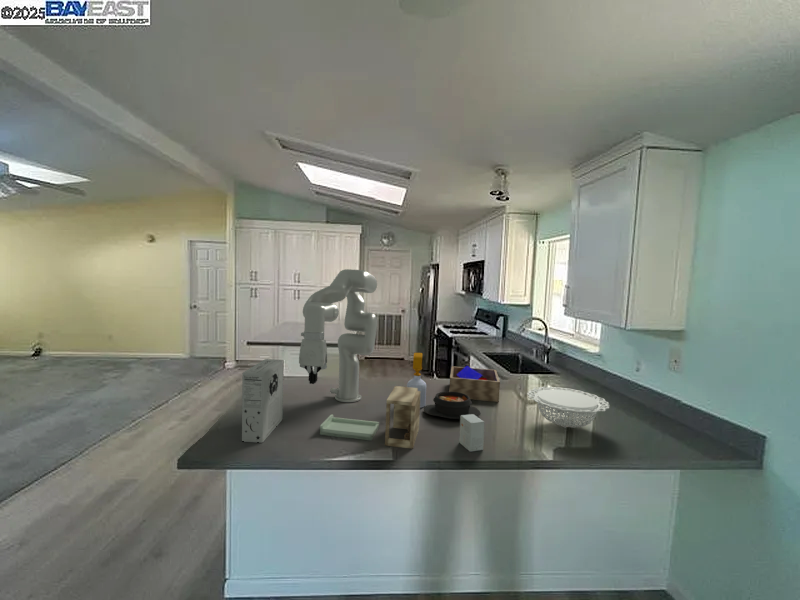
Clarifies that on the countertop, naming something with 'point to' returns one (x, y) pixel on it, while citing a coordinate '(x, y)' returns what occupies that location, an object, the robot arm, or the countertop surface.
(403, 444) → the shelf
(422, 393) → the soap bottle
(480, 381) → the open wooden box
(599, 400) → the colander
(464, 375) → the house
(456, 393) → the casserole
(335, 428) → the tray
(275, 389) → the cereal box
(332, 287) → the robot arm
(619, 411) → the countertop surface
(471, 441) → the small box
